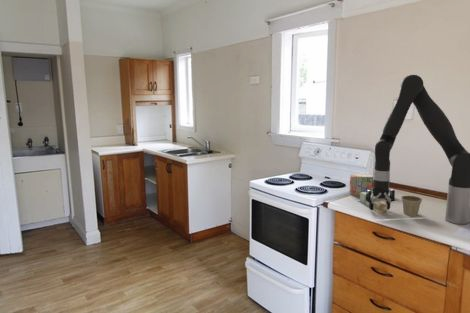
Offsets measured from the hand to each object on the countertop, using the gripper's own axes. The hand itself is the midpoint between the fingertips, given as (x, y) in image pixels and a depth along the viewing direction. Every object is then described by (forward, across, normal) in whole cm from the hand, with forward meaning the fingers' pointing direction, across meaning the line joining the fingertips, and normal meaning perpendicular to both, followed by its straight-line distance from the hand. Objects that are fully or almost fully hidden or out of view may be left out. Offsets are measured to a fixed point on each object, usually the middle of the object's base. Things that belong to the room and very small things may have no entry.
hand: (379, 209), depth 172 cm
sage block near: (+1, +1, +9) cm, 9 cm away
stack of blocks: (+2, +10, +29) cm, 31 cm away
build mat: (+1, +2, +12) cm, 12 cm away
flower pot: (+2, +13, -6) cm, 14 cm away
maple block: (+2, 0, 0) cm, 2 cm away
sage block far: (+1, +1, +16) cm, 16 cm away
